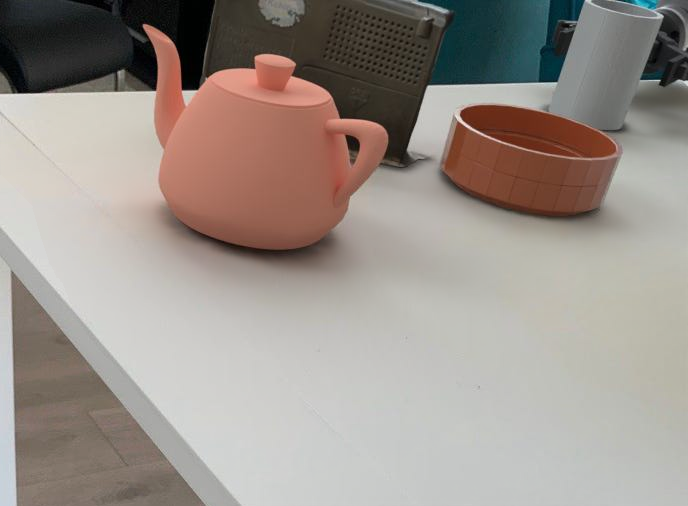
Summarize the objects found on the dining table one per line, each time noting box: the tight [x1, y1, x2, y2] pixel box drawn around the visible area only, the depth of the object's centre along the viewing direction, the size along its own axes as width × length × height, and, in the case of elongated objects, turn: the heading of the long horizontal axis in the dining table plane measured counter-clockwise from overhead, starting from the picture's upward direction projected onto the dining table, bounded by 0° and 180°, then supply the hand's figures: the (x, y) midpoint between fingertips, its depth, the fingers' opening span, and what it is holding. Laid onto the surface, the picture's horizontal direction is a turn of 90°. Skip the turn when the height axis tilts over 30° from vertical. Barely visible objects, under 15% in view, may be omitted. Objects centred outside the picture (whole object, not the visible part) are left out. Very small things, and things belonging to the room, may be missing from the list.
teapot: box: [142, 23, 388, 251], centre depth 80 cm, size 22×15×12 cm
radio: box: [199, 0, 456, 168], centre depth 99 cm, size 23×9×15 cm, turn 70°
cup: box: [548, 0, 664, 131], centre depth 123 cm, size 9×9×12 cm
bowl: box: [439, 102, 624, 217], centre depth 99 cm, size 16×16×6 cm
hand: (611, 58), depth 125 cm, fingers open, 13 cm apart
